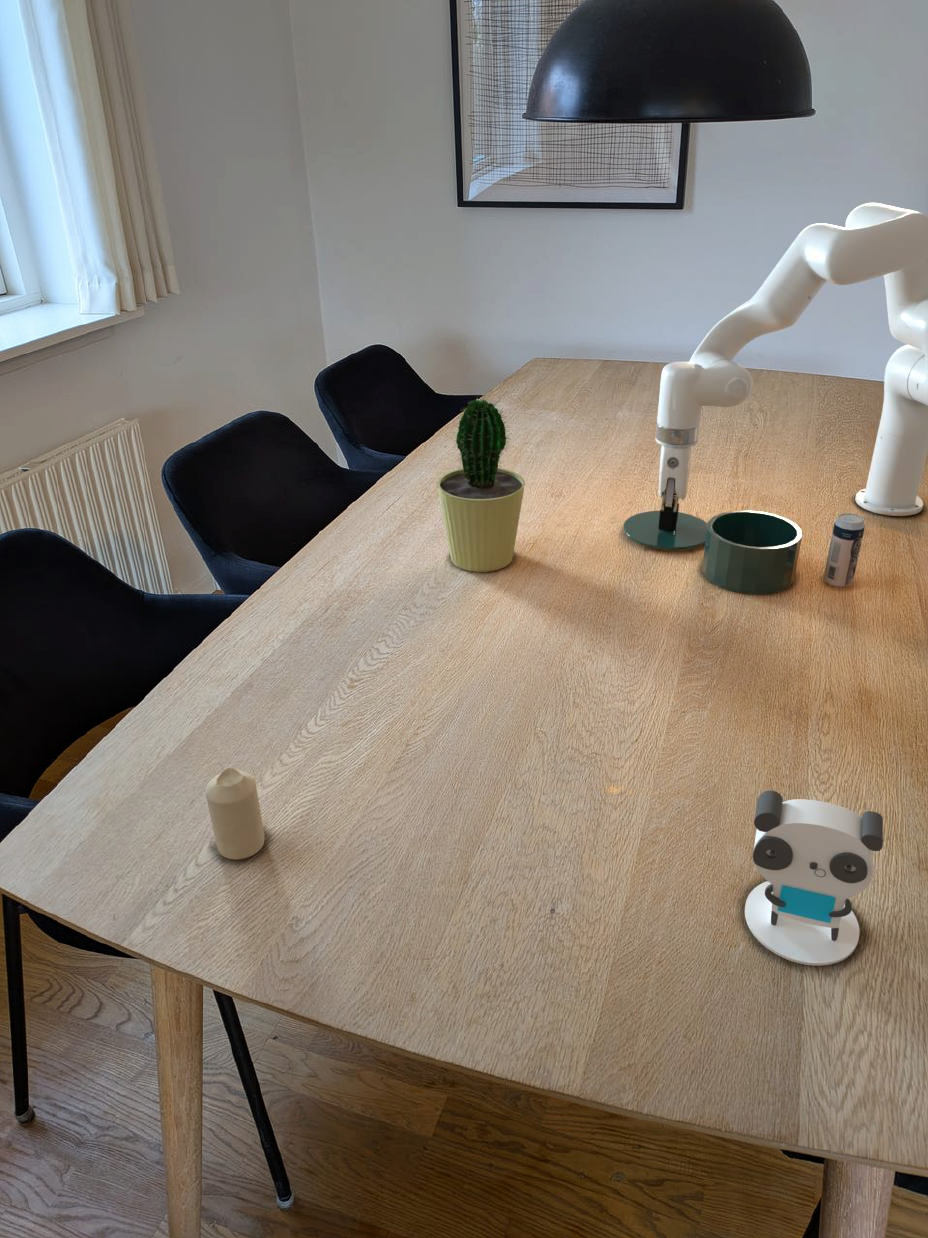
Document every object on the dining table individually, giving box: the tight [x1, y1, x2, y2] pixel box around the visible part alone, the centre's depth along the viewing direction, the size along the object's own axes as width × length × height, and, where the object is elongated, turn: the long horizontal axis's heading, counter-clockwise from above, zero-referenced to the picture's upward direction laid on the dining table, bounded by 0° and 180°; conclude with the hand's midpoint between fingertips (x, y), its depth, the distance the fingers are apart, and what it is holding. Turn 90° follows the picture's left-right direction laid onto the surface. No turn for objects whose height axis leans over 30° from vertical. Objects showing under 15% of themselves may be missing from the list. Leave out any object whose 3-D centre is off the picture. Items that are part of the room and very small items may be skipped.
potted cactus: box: [436, 394, 526, 573], centre depth 164 cm, size 15×15×30 cm
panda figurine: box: [744, 790, 884, 967], centre depth 94 cm, size 12×11×15 cm
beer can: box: [823, 512, 866, 588], centre depth 159 cm, size 5×5×12 cm
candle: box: [205, 767, 265, 861], centre depth 107 cm, size 6×6×10 cm
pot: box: [701, 510, 803, 595], centre depth 163 cm, size 16×16×8 cm
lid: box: [622, 499, 708, 551], centre depth 178 cm, size 17×17×7 cm
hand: (667, 525), depth 179 cm, fingers closed on lid, 2 cm apart
